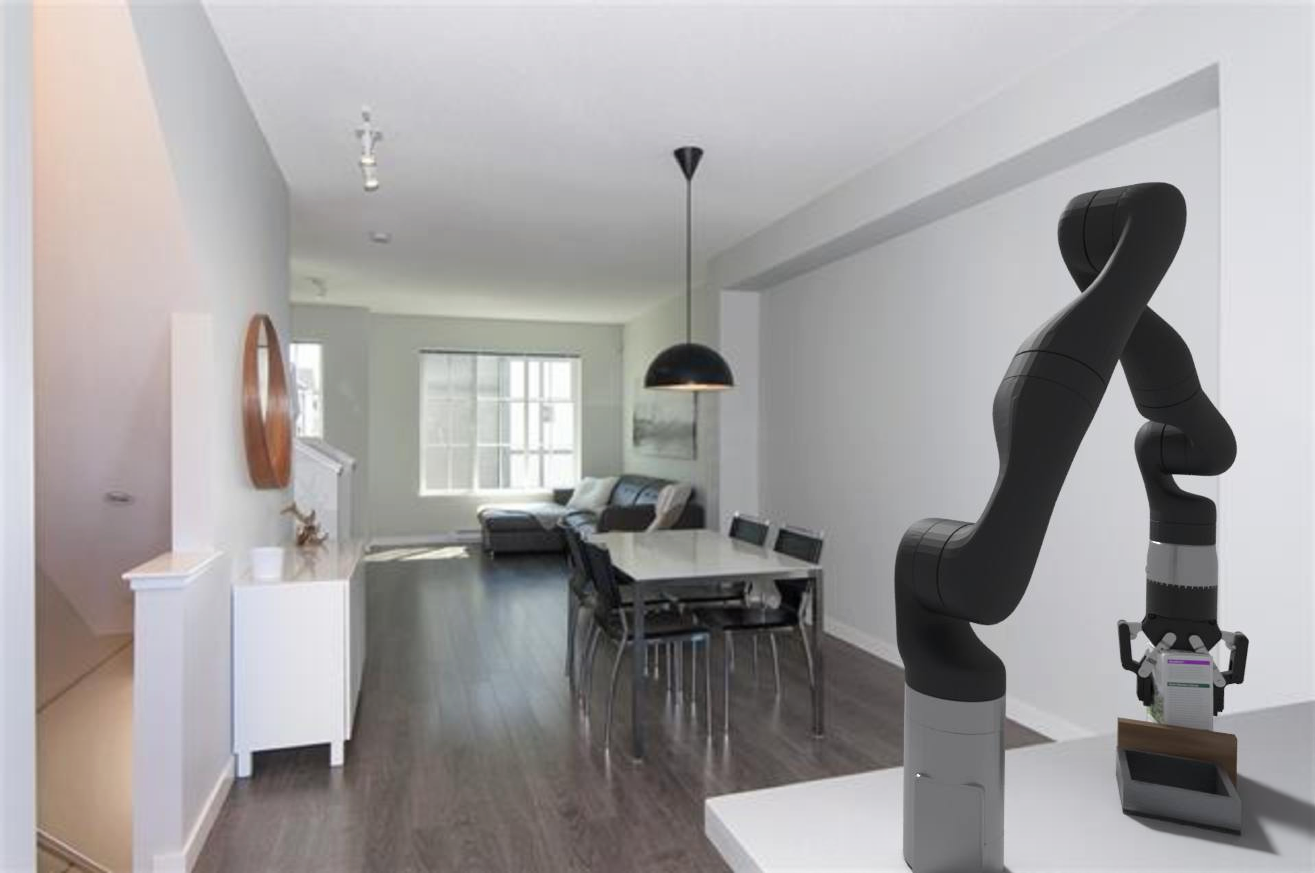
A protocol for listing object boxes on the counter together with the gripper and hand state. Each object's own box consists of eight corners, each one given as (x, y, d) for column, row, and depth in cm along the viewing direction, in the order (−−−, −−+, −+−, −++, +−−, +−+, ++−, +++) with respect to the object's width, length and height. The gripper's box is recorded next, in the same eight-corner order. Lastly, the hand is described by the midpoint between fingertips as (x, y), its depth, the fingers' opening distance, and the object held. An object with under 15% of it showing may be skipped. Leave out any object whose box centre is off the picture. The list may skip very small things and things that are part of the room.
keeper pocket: (1240, 835, 82) (1241, 802, 82) (1122, 812, 87) (1123, 781, 87) (1221, 792, 92) (1221, 762, 92) (1115, 774, 97) (1116, 745, 97)
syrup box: (1215, 773, 97) (1217, 655, 97) (1161, 769, 98) (1163, 652, 98) (1193, 754, 103) (1195, 642, 102) (1143, 750, 104) (1144, 640, 103)
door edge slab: (1236, 790, 93) (1237, 739, 92) (1117, 769, 98) (1118, 721, 98) (1233, 784, 94) (1234, 734, 94) (1116, 764, 99) (1117, 717, 99)
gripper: (1117, 577, 100) (1115, 709, 100) (1258, 589, 93) (1256, 729, 94) (1113, 567, 106) (1111, 691, 107) (1244, 577, 100) (1242, 709, 100)
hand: (1179, 708), depth 100 cm, fingers closed on syrup box, 6 cm apart
